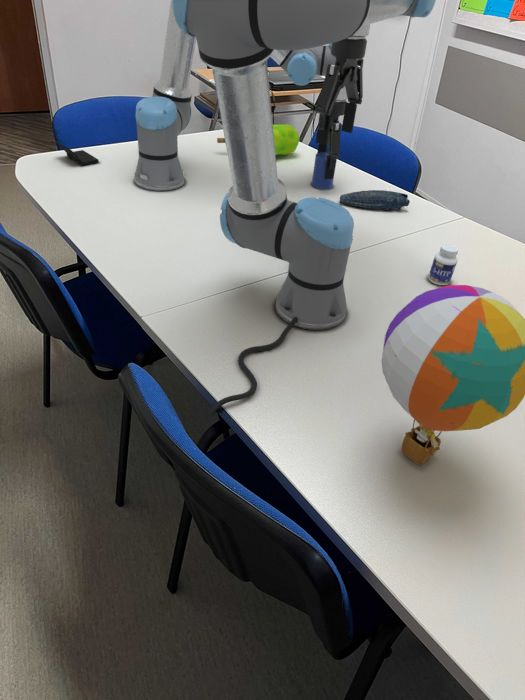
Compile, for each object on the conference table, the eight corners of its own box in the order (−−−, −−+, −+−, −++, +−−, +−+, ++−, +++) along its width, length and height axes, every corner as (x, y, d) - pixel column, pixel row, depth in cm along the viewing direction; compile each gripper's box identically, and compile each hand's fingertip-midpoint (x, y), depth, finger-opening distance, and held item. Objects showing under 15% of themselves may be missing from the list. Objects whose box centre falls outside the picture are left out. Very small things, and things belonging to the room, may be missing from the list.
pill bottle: (426, 282, 126) (437, 249, 120) (429, 272, 130) (439, 240, 124) (449, 287, 124) (460, 254, 119) (450, 277, 128) (461, 245, 123)
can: (336, 186, 171) (341, 156, 165) (324, 191, 167) (328, 161, 161) (319, 179, 174) (324, 150, 168) (307, 184, 170) (311, 155, 164)
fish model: (408, 214, 157) (412, 198, 153) (339, 207, 158) (341, 191, 154) (406, 206, 162) (410, 190, 159) (339, 199, 163) (341, 183, 160)
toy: (330, 445, 83) (367, 285, 64) (404, 395, 93) (455, 244, 75) (432, 532, 72) (514, 369, 53) (503, 464, 82) (592, 308, 64)
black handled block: (103, 155, 172) (82, 133, 163) (91, 173, 171) (70, 152, 162) (82, 151, 178) (61, 130, 170) (71, 168, 177) (49, 148, 168)
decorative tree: (214, 118, 187) (294, 118, 193) (214, 147, 194) (292, 146, 199) (220, 132, 174) (307, 132, 179) (220, 164, 180) (304, 162, 185)
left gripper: (358, 110, 146) (344, 185, 159) (337, 89, 164) (326, 158, 178) (332, 109, 145) (321, 185, 158) (314, 88, 163) (305, 158, 176)
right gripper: (358, 29, 122) (343, 123, 135) (307, 38, 105) (295, 145, 118) (388, 34, 119) (369, 130, 133) (340, 44, 102) (324, 153, 116)
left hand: (324, 171), depth 168 cm, fingers open, 12 cm apart
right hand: (334, 137), depth 126 cm, fingers open, 13 cm apart
